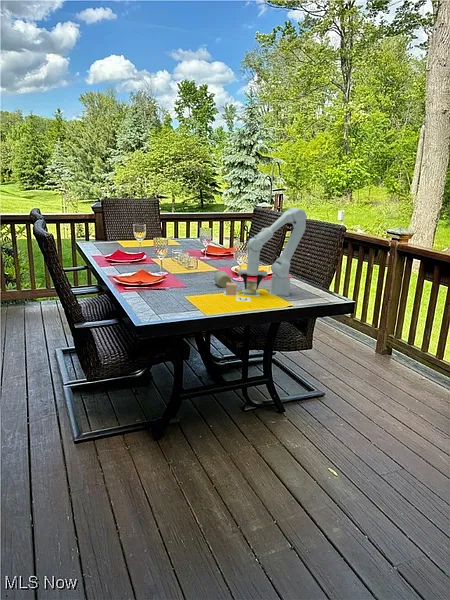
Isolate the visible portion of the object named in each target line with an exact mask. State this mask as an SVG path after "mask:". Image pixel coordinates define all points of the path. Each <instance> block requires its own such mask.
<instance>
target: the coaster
mask: <svg viewBox="0 0 450 600" xmlns="http://www.w3.org/2000/svg"><path fill="white" fill-rule="evenodd" d="M241 296H245V297H251V296H252V297H261V293H260V291H259V290H256V294H251V293H246V289H242V290H241Z"/></svg>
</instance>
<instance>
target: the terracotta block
mask: <svg viewBox="0 0 450 600" xmlns="http://www.w3.org/2000/svg"><path fill="white" fill-rule="evenodd" d="M237 286H238V285H237V282H233V283H229V282H227V286H226V288H225V291H226V295H225V296H227V295H236V292H237V289H238V288H237Z"/></svg>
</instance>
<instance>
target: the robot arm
mask: <svg viewBox="0 0 450 600" xmlns="http://www.w3.org/2000/svg"><path fill="white" fill-rule="evenodd" d="M307 218H308V215H307V213H306V211H305V209H303V208H297V207H295V206H291V207H289V208H288V209H287V210H285V211H284V212H283V213H282V215H281V216H279V217H278V219H276V220H275V221H274V222H273V223H272V224H271V225H270V226H269V227H265V228H264V227H262V228H261V230H260V231H259V232H258V233H257V234H255V235H254V236H253V237H251V238H249V240H248V241H247V243H246V246H247V248H248V253H247V262H246V263H247V264H246V265H247V267H246V269H237V275H241V277H242V280H243V283H244V290H246V287H247V281H248V276H256V282H257V289H256V291H258V289H259V285H260V283H261V282H262V280H263V279H264V277H267V276H268V271H263V270H262V271H261V270H260V269H259V267H260V256H261V250H262V249H263V246H264V245H265V244H266V243H267V242H268V241H270V239H272V238H273V237H274V234H275V232H277V231H278V230H279V229H280V228H281V227H283V226H284V225H285V224H288V223H291V224H292V226H293V229H292V232H291V233H290V236H289V237H288V240H287V242H286V244H285V246H284V248H283V250H282V252H281V254H280V256H279V257H278V258H276V260H275V261H274V262H273V263H272V264H271V267H270V271H271V272H272V274H271V275H272V276H271V285H270V286H271V287H270V289H269V291H268V292H269V294H270V295H271V296H275V295H276V296H282V297H285V296H286V297H289V296H290V291H291V290H290V288H291V277H288V275H289V274H290V268H291V260H292V258H293V256H294V253H295V252H296V249H297V247H299V246H298V245H299V243H300V241H301V239H302V237H303V235H304V233H305V231H306V229H307V228H306V227H307V224H306V223H307Z"/></svg>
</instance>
